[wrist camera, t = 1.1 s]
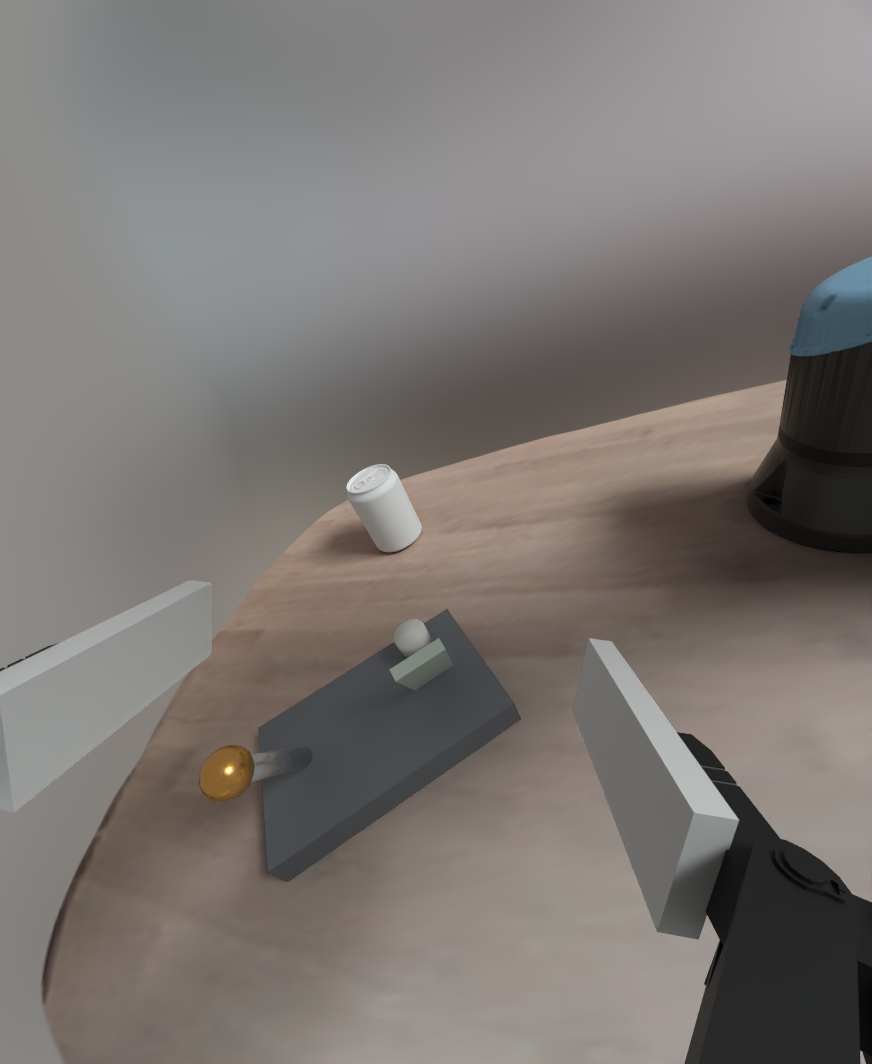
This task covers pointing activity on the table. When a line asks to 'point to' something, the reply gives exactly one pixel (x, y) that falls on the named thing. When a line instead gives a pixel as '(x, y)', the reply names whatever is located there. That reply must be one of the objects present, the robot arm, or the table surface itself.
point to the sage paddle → (422, 666)
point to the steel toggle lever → (246, 769)
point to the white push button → (411, 637)
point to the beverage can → (384, 508)
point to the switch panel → (374, 746)
